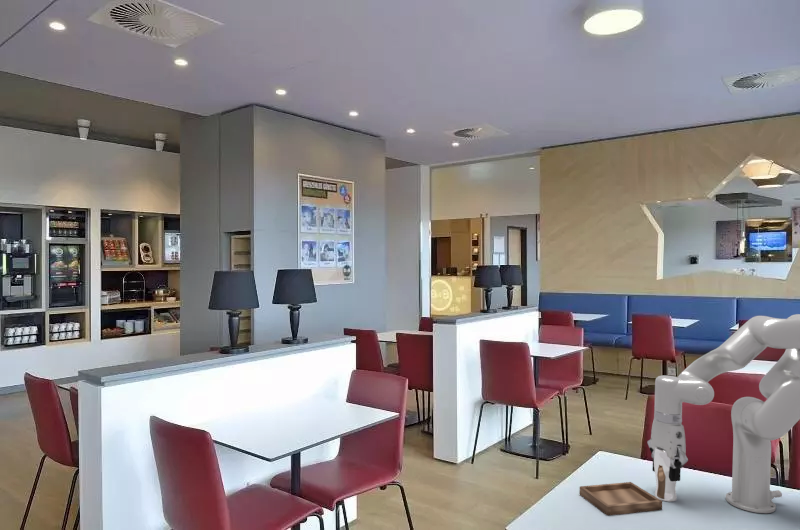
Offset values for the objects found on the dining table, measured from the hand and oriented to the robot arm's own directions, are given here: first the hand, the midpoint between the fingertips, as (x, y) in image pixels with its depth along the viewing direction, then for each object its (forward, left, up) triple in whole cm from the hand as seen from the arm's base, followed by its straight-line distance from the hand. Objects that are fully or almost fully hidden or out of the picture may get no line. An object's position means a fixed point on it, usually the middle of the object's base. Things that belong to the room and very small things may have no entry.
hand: (666, 475), depth 168 cm
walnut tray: (+16, 0, -7) cm, 17 cm away
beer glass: (0, 0, -7) cm, 7 cm away
